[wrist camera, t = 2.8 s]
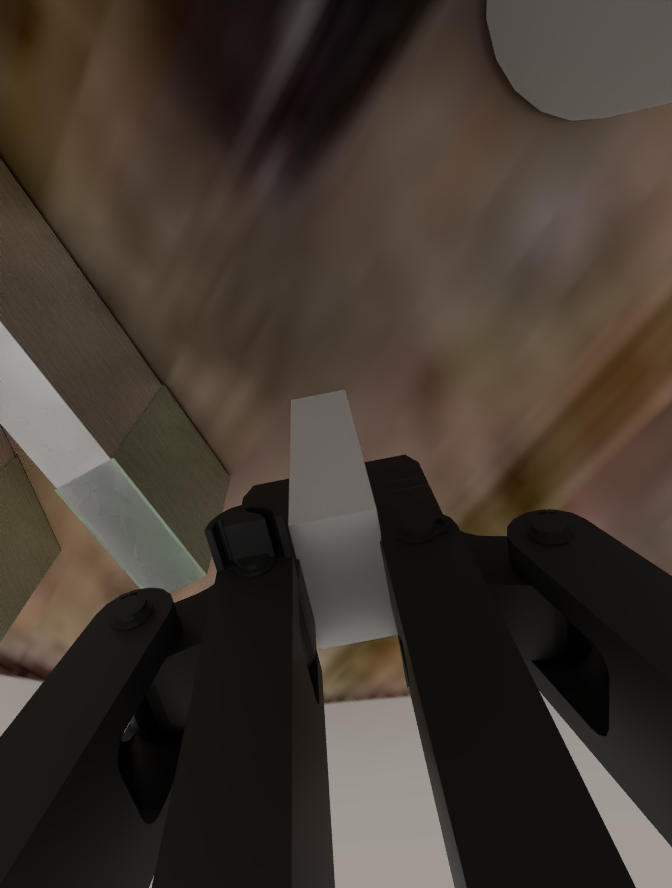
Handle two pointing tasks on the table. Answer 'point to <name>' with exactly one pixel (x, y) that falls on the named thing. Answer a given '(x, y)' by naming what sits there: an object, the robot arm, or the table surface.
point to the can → (585, 54)
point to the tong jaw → (98, 410)
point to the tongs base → (20, 538)
